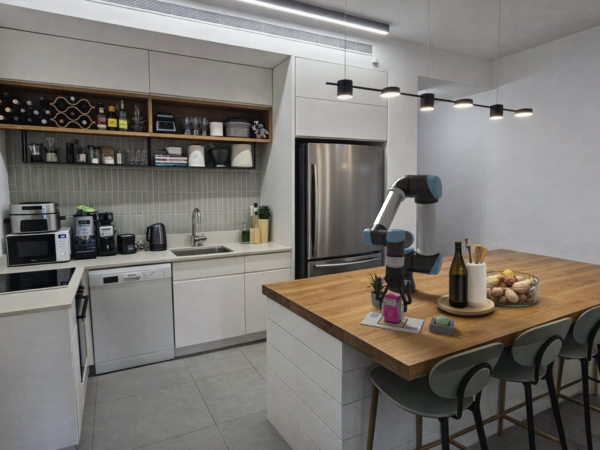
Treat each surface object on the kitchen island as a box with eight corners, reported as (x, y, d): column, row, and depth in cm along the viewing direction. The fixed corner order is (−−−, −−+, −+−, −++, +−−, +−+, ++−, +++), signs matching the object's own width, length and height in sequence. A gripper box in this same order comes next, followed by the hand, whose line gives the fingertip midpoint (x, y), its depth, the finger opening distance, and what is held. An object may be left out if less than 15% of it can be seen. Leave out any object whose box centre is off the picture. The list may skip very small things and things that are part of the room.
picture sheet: (369, 312, 184) (370, 311, 184) (424, 320, 174) (424, 319, 174) (360, 324, 170) (360, 322, 170) (418, 333, 160) (418, 332, 160)
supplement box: (388, 317, 176) (390, 292, 175) (401, 320, 173) (403, 294, 171) (383, 321, 172) (384, 295, 170) (396, 324, 168) (397, 298, 167)
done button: (436, 324, 168) (436, 315, 167) (448, 326, 166) (449, 316, 165) (434, 328, 163) (435, 318, 163) (447, 330, 161) (448, 320, 161)
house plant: (354, 303, 197) (355, 271, 195) (372, 298, 206) (373, 267, 204) (377, 311, 187) (378, 277, 185) (395, 305, 195) (396, 272, 193)
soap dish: (431, 324, 171) (432, 317, 170) (454, 327, 167) (454, 320, 167) (429, 331, 163) (429, 324, 162) (452, 335, 159) (453, 328, 159)
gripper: (368, 265, 170) (367, 316, 173) (418, 270, 161) (416, 324, 164) (372, 261, 177) (371, 311, 179) (421, 266, 168) (418, 318, 171)
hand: (392, 317), depth 172 cm, fingers open, 8 cm apart
